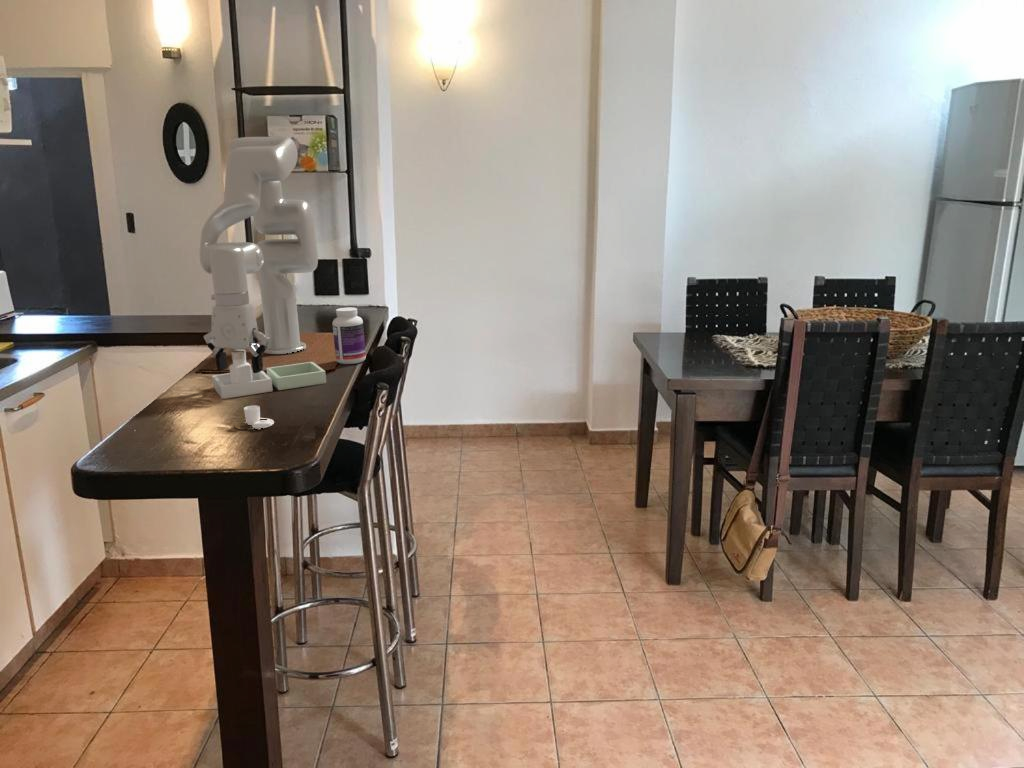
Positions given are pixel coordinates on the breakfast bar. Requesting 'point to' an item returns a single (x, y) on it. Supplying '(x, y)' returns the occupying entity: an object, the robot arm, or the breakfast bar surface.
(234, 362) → the pepper shaker
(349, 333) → the pill bottle
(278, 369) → the green bin
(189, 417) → the breakfast bar surface
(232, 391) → the grey bin
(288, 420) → the breakfast bar surface
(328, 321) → the breakfast bar surface
